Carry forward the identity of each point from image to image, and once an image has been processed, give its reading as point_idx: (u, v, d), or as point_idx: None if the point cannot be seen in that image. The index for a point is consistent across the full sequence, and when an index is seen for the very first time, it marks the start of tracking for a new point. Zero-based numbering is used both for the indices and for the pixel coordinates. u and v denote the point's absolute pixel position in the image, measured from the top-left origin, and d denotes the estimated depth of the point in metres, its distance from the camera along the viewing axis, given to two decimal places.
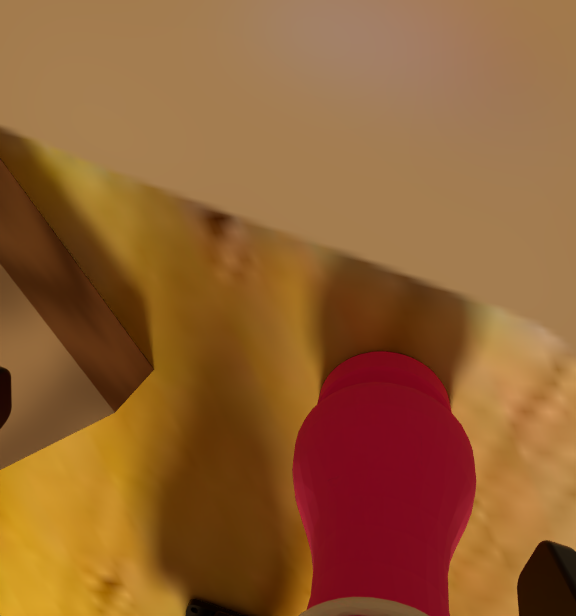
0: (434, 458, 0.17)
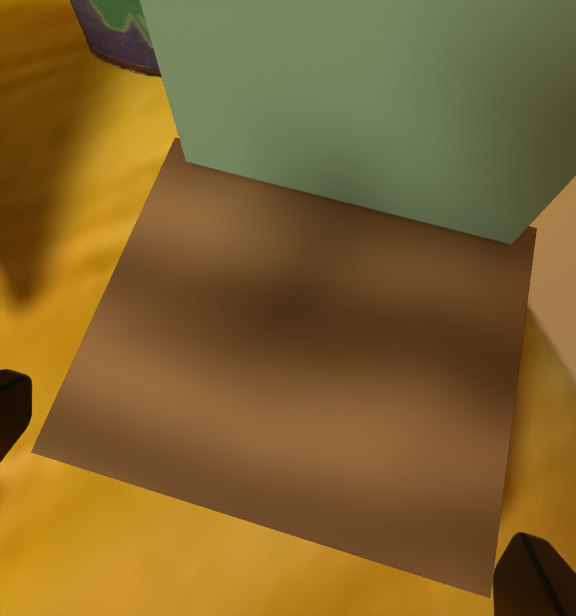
0: None
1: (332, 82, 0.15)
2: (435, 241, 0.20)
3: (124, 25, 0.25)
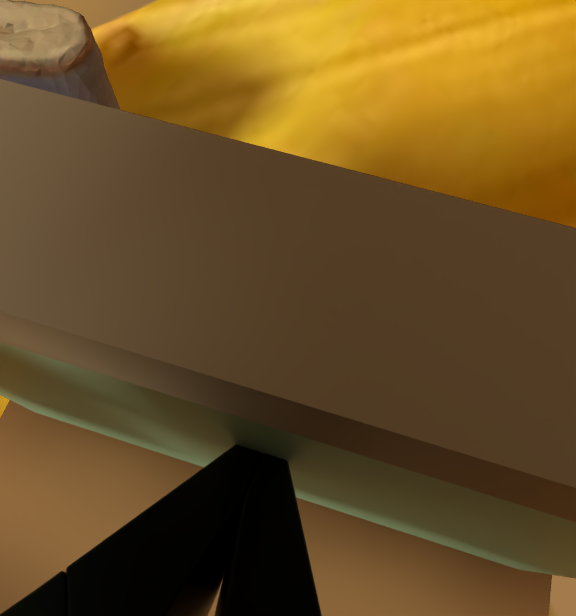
0: None
1: (197, 436, 0.08)
2: (402, 558, 0.13)
3: None
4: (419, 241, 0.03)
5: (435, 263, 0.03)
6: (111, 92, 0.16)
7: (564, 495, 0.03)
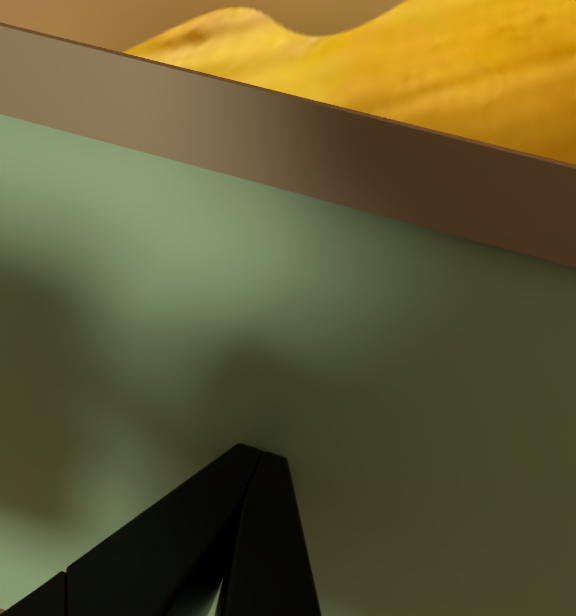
0: None
1: (193, 446, 0.08)
2: None
3: None
4: (420, 128, 0.07)
5: (431, 130, 0.06)
6: None
7: (530, 185, 0.05)
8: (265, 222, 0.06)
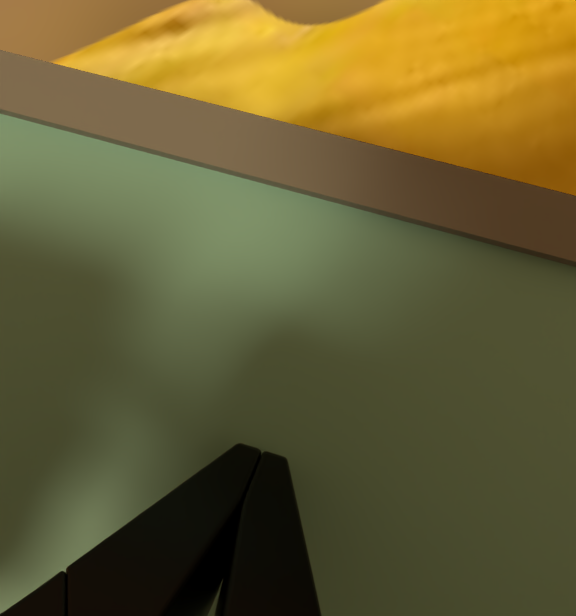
0: None
1: (198, 438, 0.08)
2: None
3: None
4: None
5: None
6: None
7: (478, 188, 0.08)
8: (287, 222, 0.08)
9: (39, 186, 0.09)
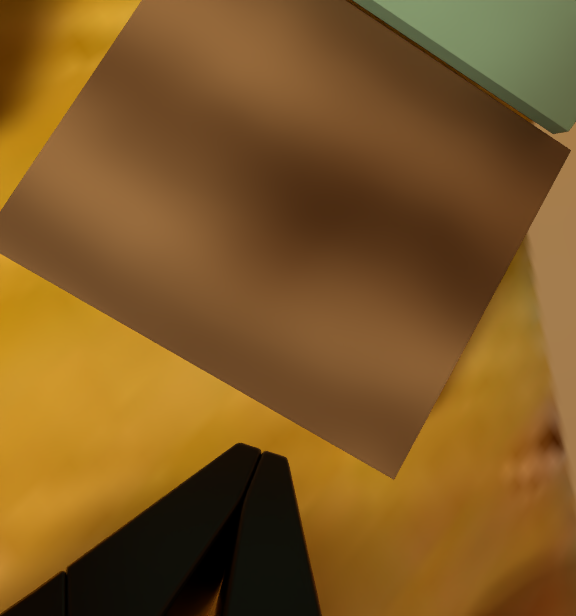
0: None
1: None
2: (462, 134, 0.18)
3: None
4: None
5: None
6: None
7: None
8: None
9: None
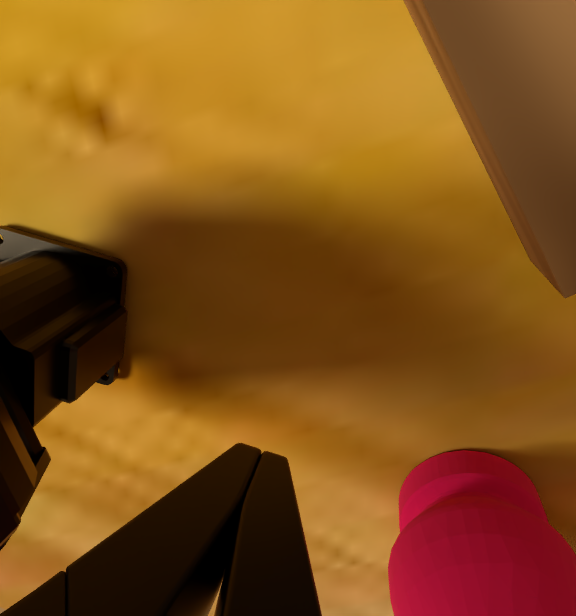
0: None
1: None
2: None
3: None
4: None
5: None
6: None
7: None
8: None
9: None
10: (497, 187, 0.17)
